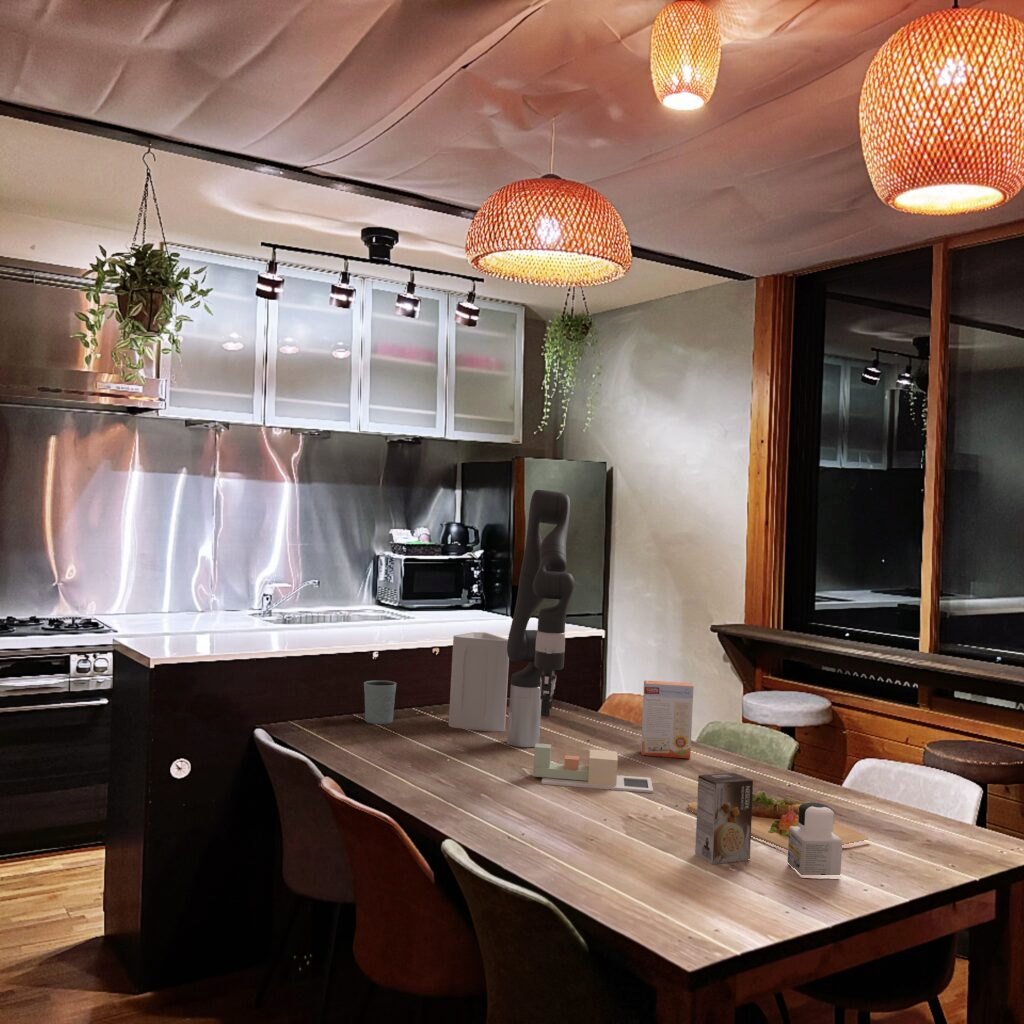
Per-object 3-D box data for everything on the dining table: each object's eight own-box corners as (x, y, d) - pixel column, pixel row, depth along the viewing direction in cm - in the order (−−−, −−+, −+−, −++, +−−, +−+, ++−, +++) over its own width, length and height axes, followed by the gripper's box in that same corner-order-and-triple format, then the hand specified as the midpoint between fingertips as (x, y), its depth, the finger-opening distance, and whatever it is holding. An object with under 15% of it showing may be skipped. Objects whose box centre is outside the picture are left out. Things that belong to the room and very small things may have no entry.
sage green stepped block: (532, 776, 242) (534, 747, 242) (534, 770, 248) (536, 742, 248) (588, 780, 241) (590, 752, 241) (588, 774, 246) (590, 746, 246)
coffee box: (731, 850, 197) (735, 771, 197) (750, 861, 191) (754, 780, 191) (693, 854, 193) (697, 774, 193) (712, 865, 187) (716, 783, 187)
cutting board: (873, 846, 206) (875, 811, 206) (796, 860, 195) (798, 823, 195) (756, 800, 237) (757, 770, 237) (682, 810, 225) (684, 778, 225)
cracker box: (688, 754, 279) (692, 682, 279) (690, 759, 273) (694, 686, 273) (640, 750, 280) (643, 679, 280) (640, 755, 274) (644, 682, 274)
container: (786, 864, 190) (790, 799, 190) (824, 865, 191) (827, 800, 191) (801, 879, 182) (805, 811, 182) (841, 880, 183) (844, 812, 183)
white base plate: (541, 783, 239) (543, 755, 239) (544, 771, 251) (545, 744, 251) (653, 793, 236) (654, 764, 236) (650, 780, 248) (652, 753, 248)
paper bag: (438, 719, 307) (443, 632, 307) (480, 717, 314) (485, 632, 314) (461, 733, 290) (466, 640, 290) (505, 730, 296) (510, 640, 297)
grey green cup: (391, 725, 295) (394, 686, 296) (359, 723, 296) (361, 684, 296) (396, 718, 306) (398, 680, 306) (364, 716, 306) (366, 679, 306)
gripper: (537, 644, 253) (533, 706, 253) (533, 652, 239) (529, 717, 239) (565, 646, 253) (562, 708, 253) (563, 654, 238) (559, 719, 238)
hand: (546, 712), depth 246 cm, fingers open, 8 cm apart
